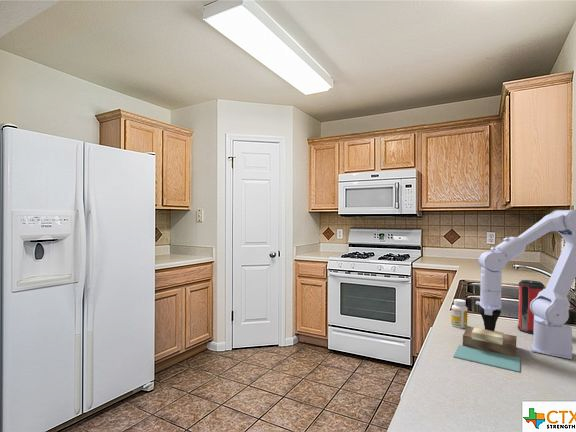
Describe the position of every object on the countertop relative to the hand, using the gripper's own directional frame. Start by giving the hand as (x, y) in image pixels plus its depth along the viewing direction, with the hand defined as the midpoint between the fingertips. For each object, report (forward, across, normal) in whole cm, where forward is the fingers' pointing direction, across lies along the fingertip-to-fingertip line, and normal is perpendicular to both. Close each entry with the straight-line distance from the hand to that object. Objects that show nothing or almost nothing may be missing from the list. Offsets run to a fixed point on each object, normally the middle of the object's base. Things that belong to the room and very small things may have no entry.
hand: (489, 332), depth 109 cm
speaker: (+5, -27, +11) cm, 30 cm away
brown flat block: (+4, 0, 0) cm, 4 cm away
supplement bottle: (+5, -17, -11) cm, 21 cm away
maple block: (+1, +4, 0) cm, 4 cm away
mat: (+4, +11, 0) cm, 11 cm away
